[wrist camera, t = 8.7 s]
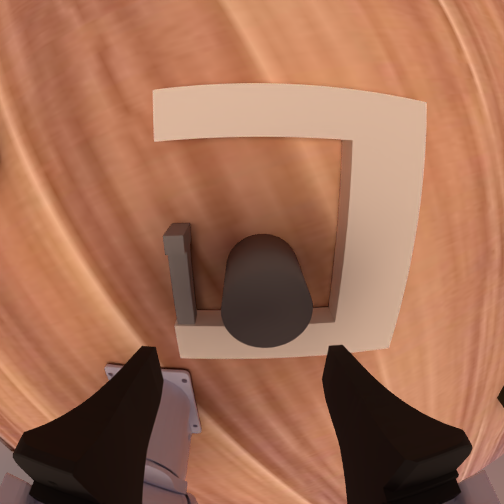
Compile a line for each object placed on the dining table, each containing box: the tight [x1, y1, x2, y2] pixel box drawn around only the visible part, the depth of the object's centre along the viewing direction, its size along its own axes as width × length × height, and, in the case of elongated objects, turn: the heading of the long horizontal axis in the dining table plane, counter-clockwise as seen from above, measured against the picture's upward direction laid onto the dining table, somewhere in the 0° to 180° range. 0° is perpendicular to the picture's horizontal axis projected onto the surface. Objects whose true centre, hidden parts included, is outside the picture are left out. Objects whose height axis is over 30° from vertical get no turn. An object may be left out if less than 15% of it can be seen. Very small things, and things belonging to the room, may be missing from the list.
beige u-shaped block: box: [153, 83, 427, 359], centre depth 19 cm, size 18×16×2 cm
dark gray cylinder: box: [221, 234, 313, 348], centre depth 18 cm, size 5×5×6 cm
